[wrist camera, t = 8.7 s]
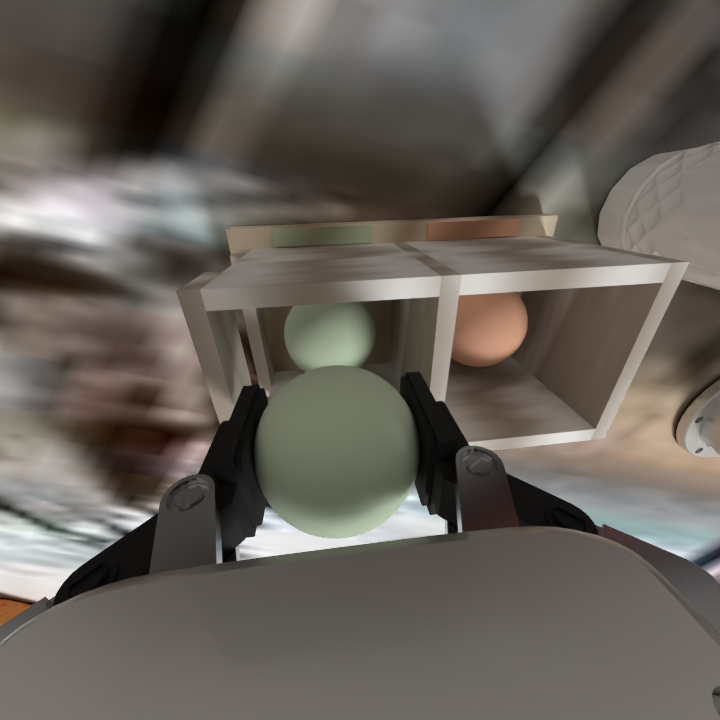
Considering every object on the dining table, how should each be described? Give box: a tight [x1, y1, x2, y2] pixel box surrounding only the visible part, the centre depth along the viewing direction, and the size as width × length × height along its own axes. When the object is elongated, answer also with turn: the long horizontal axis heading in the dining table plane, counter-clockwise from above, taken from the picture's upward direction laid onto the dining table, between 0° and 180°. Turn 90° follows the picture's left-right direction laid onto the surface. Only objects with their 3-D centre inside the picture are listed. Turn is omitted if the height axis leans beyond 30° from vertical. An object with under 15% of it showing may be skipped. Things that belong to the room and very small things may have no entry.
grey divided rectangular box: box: [176, 214, 690, 451], centre depth 18 cm, size 21×12×10 cm, turn 92°
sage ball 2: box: [254, 365, 420, 538], centre depth 11 cm, size 6×6×6 cm
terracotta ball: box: [451, 292, 528, 367], centre depth 20 cm, size 6×6×6 cm
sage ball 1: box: [284, 302, 375, 372], centre depth 19 cm, size 6×6×6 cm
